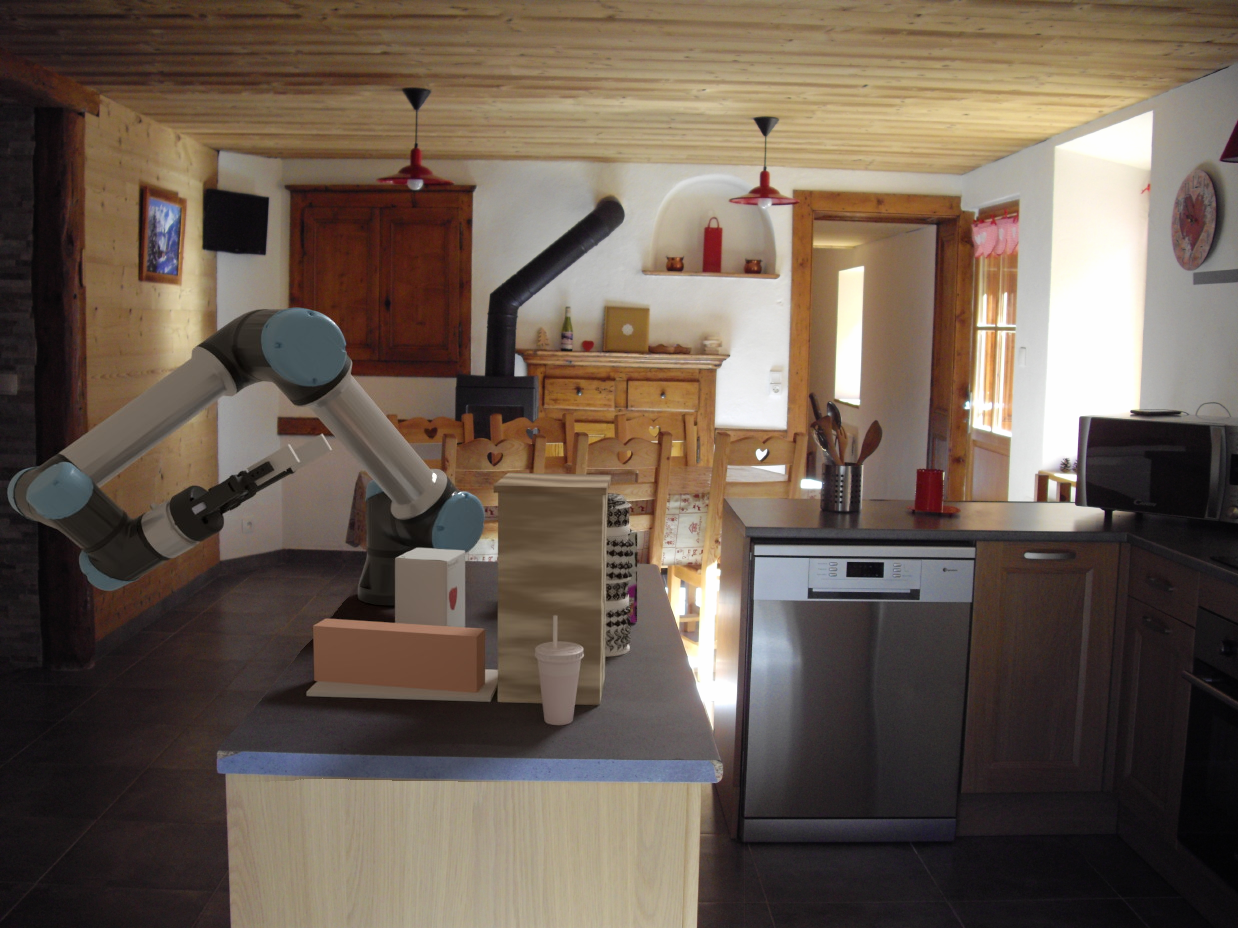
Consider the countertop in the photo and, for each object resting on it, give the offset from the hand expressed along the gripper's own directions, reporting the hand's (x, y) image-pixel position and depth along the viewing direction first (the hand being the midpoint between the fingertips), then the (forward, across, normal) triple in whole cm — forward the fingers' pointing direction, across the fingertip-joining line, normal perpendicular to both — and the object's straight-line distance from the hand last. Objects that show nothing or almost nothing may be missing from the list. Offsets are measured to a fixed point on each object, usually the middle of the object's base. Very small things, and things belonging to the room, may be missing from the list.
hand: (311, 447), depth 146 cm
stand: (+12, 0, +46) cm, 48 cm away
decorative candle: (+17, +20, +50) cm, 56 cm away
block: (-6, -1, +35) cm, 35 cm away
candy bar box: (+16, +35, +50) cm, 63 cm away
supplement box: (-7, +20, +36) cm, 41 cm away
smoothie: (+14, -12, +48) cm, 51 cm away
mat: (-6, 0, +36) cm, 36 cm away
